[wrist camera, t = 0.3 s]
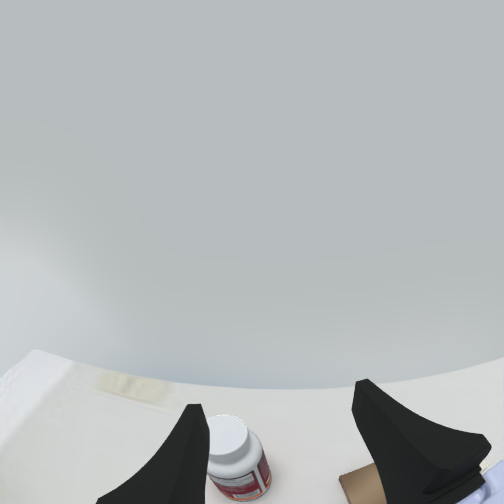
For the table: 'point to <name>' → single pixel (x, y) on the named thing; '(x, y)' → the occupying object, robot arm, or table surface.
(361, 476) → the board
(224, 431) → the pill bottle
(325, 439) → the table surface
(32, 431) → the table surface
